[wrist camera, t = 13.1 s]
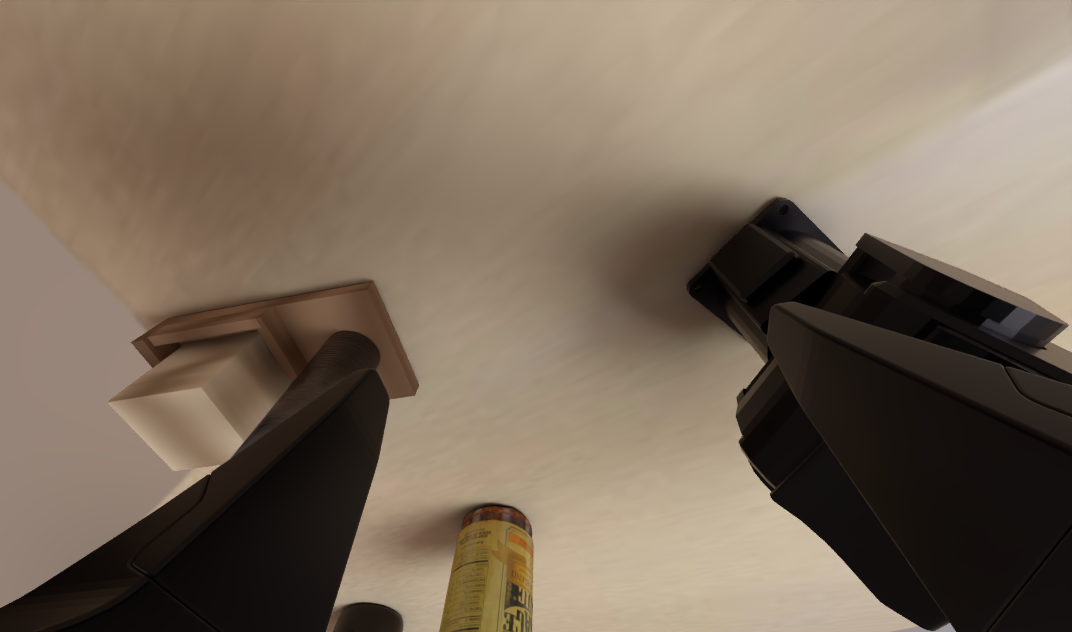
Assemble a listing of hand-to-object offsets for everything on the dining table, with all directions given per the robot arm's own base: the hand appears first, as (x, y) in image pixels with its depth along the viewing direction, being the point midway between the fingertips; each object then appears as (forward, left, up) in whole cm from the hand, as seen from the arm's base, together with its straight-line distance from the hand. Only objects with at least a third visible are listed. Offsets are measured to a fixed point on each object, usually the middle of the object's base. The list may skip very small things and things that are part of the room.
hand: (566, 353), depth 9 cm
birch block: (+9, +19, -12) cm, 24 cm away
